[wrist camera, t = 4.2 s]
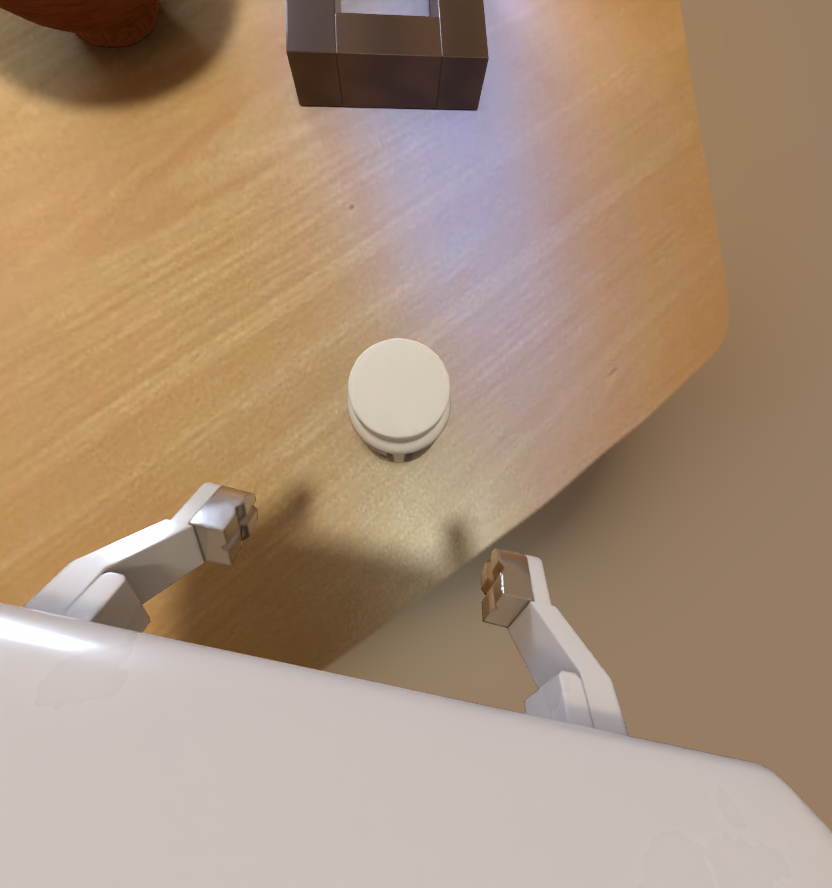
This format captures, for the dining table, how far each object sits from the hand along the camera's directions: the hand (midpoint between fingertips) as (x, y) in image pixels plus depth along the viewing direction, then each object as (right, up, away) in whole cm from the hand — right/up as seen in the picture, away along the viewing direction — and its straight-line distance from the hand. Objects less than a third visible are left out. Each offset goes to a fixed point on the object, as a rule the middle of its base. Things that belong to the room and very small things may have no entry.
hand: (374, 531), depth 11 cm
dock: (-1, +33, +13) cm, 36 cm away
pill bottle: (0, +4, +10) cm, 11 cm away
